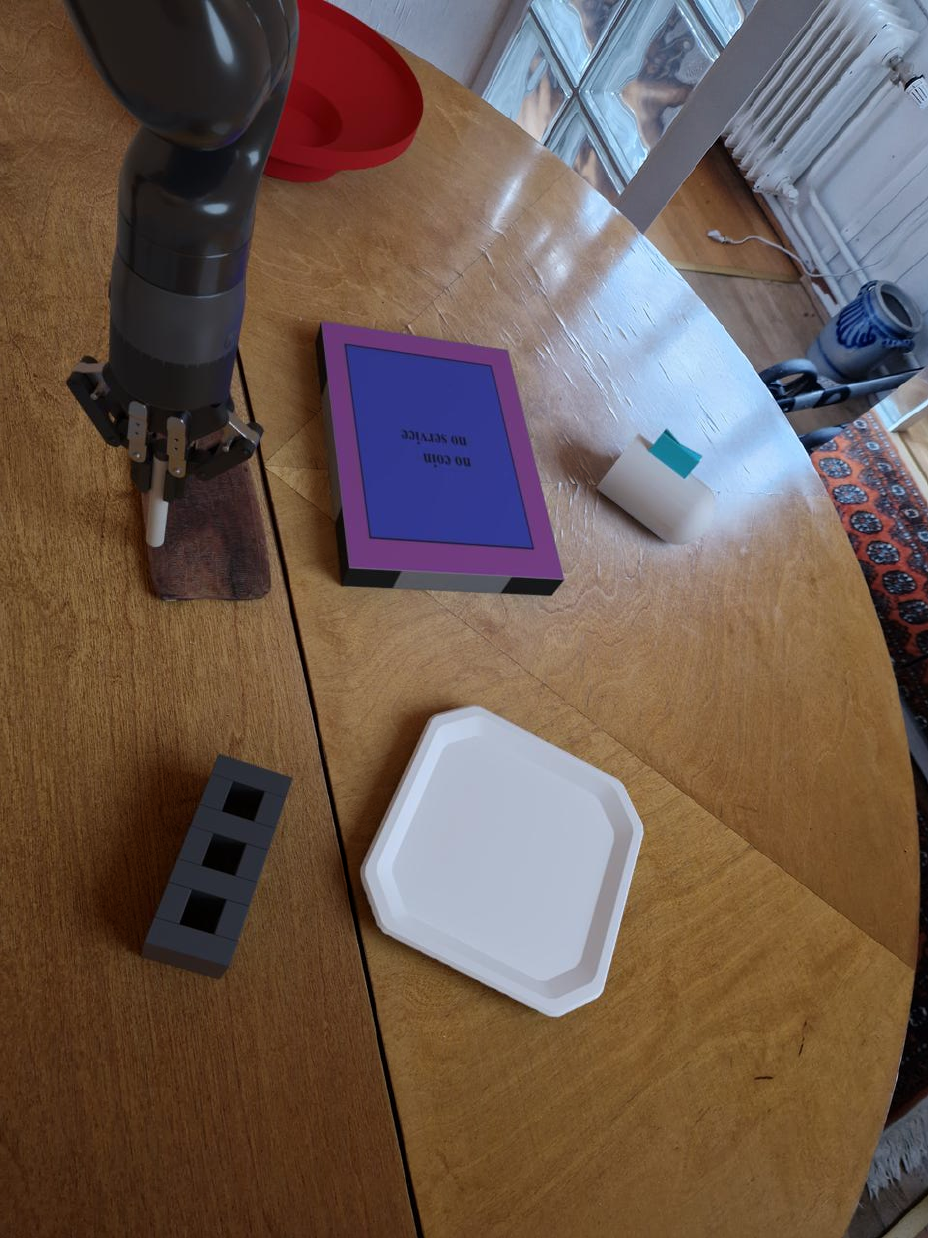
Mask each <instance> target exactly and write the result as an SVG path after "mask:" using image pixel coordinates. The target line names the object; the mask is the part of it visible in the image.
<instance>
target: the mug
mask: <svg viewBox="0 0 928 1238" xmlns="http://www.w3.org/2000/svg"><path fill="white" fill-rule="evenodd" d="M702 458H703V455H702V454H700V453H699V452H696V451H695V450H692V449H691V448H689V447H687V446H686V445H684V444H682V443H681V442H680V441H679V440H678V438H676V437H675V435H674V434H673V433H672V432H671V431H670V430H669V428H668V427H666V428H665V429H664V431H663V432H662V433H661V435H659V437H658V438H657V439H656V441H655V442H654V443H652V441H649V440H648V439H647V438H646V437H645V436H643V435H642V434H641V433H637V434H636V436H634V438H633V439H632V441H631V442H630V443H629V444H628V446H627V447H626V448H625V449H624V450H623V452H622V453H621V454H620V455H619V457H618V458H617V460H615V462H614V463H613V464H612V466H611V467H610V468H609V470H608V471H607V473H606V474H605V475H604V476H603V478H602V479H601V480H600V482H599V483H598V484H597V486H596V490H598V491H599V492H600V493H601V494H603V495H604V496H606V497H607V498H608V499H610V500H611V501H612V502H613V503H615V504H616V505H617V506H619V507H620V508H621V509H622V510H623V511H625V512H626V513H627V514H629V515H630V516H632V517H633V518H634V519H635V520H637V521H638V522H639V523H641V524H642V525H643V526H644V527H646V528H647V529H648V530H650V531H651V532H652V533H654V534H655V535H656V536H657V537H658V538H660V539H661V540H662V541H664V542H666V543H668V544H671V545H676V546H679V545H686V544H690V543H693V542H695V541H696V540H698V539H699V538H701V537H702V536H703V535H705V534H706V533H707V531H708V530H709V529H710V527H711V526H712V524H713V522H714V521H715V518H716V515H717V499H716V496H715V493H714V491H713V490H712V489H711V487H710V486H709V485H707V484H706V483H705V482H703V481H702V480H701V479H699V478H698V477H696V476H695V475H694V474H693V473H692V472H693V470H694V469H695V468H696V467H697V466H698V464H700V460H701V459H702Z"/></svg>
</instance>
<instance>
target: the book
mask: <svg viewBox="0 0 928 1238" xmlns="http://www.w3.org/2000/svg"><path fill="white" fill-rule="evenodd" d="M314 344H315V353H316V362H317V372H318V380H319V390H320V401H321V408H322V409H321V410H322V417H323V419H322V420H323V428H324V438H325V446H326V455H327V464H328V474H329V483H330V484H329V485H330V492H331V493H330V494H331V499H332V500H331V501H332V510H333V511H332V512H333V520H334V521H333V522H334V530H335V539H336V548H337V557H338V567H339V575H340V577H339V578H340V585H341V587H351V588H374V589H392V590H393V589H396V590H417V591H435V592H437V591H439V592H458V593H459V592H462V593H478V594H479V593H481V594H503V595H526V596H542V597H543V596H544V597H545V596H547V597H552V596H553V594H554V593H555V592H556V591H557V590H558V588H559V587H560V586H561V585H562V584H563V582H564V581H565V577H564V573H563V569H562V564H561V560H560V556H559V552H558V547H557V543H556V540H555V536H554V535H555V534H554V531H553V528H552V527H553V526H552V523H551V520H550V519H551V518H550V515H549V511H548V507H547V503H546V499H545V495H544V491H543V486H542V482H541V478H540V475H539V470H538V467H537V463H536V459H535V453H534V450H533V446H532V442H531V438H530V434H529V429H528V426H527V421H526V417H525V413H524V408H523V406H522V402H521V397H520V393H519V389H518V385H517V381H516V377H515V373H514V368H513V366H512V365H513V364H512V361H511V357H510V352H509V350H508V349H503V348H498V347H497V348H496V347H491V346H486V345H479V344H478V345H477V344H472V343H465V342H459V341H453V340H448V339H441V338H440V339H439V338H434V337H428V336H421V335H416V334H408V333H402V332H395V331H389V330H382V329H378V328H377V329H376V328H370V327H365V326H357V325H353V324H352V325H351V324H345V323H338V322H332V321H325V320H320V324H319V327H318V331H317V335H316V338H315V342H314Z"/></svg>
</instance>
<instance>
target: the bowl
mask: <svg viewBox="0 0 928 1238" xmlns="http://www.w3.org/2000/svg"><path fill="white" fill-rule="evenodd" d="M296 1H297V6H298V14H299V40H298V49H297V56H296V61H295V66H294V70H293V75H292V79H291V83H290V87H289V90H288V94H287V98H286V101H285V105H284V108H283V112H282V115H281V118H280V121H279V125H278V128H277V131H276V135H275V138H274V141H273V144H272V147H271V151H270V154H269V156H268V159H267V162H266V165H265V168H264V171H263V174H264V175H267V176H270V177H272V178H275V179H280V180H285V181H288V182H289V181H290V182H293V183H312V182H313V183H314V182H315V183H316V182H321V181H324V180H327V179H329V178H331V177H333V176H334V175H336V174H338V172H339V171H359V170H366V169H371V168H376V167H380V166H383V165H385V164H388V163H391V162H392V161H394V160H395V159H397V158H399V157H400V156H402V155H403V154H404V153H405V152H406V151H407V150H408V149H409V148H410V146H411V144H413V143H412V142H413V141H414V139H415V136H416V134H417V131H418V129H419V127H420V123H421V121H422V119H423V114H424V107H425V106H424V96H423V92H422V89H421V86H420V83H419V81H418V78H417V77H416V75H415V73H414V71H413V70H412V69H411V67H410V66H409V64H408V62H407V61H406V60H405V59H404V57H403V56H402V55H401V54H400V53H399V52H398V50H396V48H394V46H392V45H391V43H390V42H388V41H387V40H386V39H385V38H384V37H383V36H382V35H380V34H379V33H378V31H376V30H374V29H373V28H372V27H371V26H369V25H368V24H366V23H364V22H363V21H362V20H360V19H359V18H357V17H355V16H354V15H353V14H351V13H349V12H348V11H346V10H344V9H343V8H340V7H338V6H337V5H336V4H333V3H331V2H329V1H327V0H296Z"/></svg>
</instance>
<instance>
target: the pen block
mask: <svg viewBox="0 0 928 1238" xmlns="http://www.w3.org/2000/svg"><path fill="white" fill-rule="evenodd" d="M292 783H293V777H291V776H288V775H285V774H282V773H279V772H277V771H273V770H270V769H267V768H264V767H262V766H258V765H255V764H252V763H249V762H246V761H243V760H240V759H237V758H234V757H231V756H228V755H224V754H222V753H218V754H217V757H216V760H215V762H214V765H213V767H212V769H211V773H210V775H209V778H208V780H207V783H206V786H205V787H204V790H203V793H202V795H201V797H200V800H199V803H198V805H197V807H196V810H195V812H194V814H193V818H192V820H191V823H190V825H189V828H188V831H187V833H186V836H185V838H184V840H183V843H182V846H181V848H180V851H179V853H178V856H177V858H176V861H175V863H174V866H173V868H172V871H171V873H170V876H169V877H168V881H167V883H166V886H165V888H164V890H163V893H162V896H161V899H160V901H159V904H158V905H157V908H156V912H155V913H154V916H153V919H152V921H151V924H150V927H149V928H148V932H147V934H146V936H145V939H144V942H143V946H142V950H141V955H140V958H143V959H145V960H146V959H147V960H150V961H154V962H157V963H160V964H164V965H168V966H171V967H174V968H178V969H181V970H186V971H188V972H191V973H196V974H199V975H202V976H205V977H209V978H213V979H216V980H222V978H223V977H224V975H225V974H226V972H227V971H228V970H229V968H230V966H231V964H232V961H233V959H234V955H235V952H236V950H237V947H238V944H239V940H240V937H241V934H242V931H243V928H244V925H245V923H246V920H247V916H248V914H249V912H250V911H249V910H250V907H251V904H252V901H253V898H254V895H255V892H256V890H257V887H258V883H259V882H260V881H259V880H260V878H261V875H262V872H263V870H264V866H265V862H266V860H267V858H268V857H267V856H268V853H269V850H270V849H271V846H272V845H271V844H272V842H273V839H274V836H275V833H276V831H277V830H276V829H277V827H278V824H279V821H280V818H281V815H282V812H283V811H284V810H283V809H284V807H285V804H286V801H287V797H288V795H289V791H290V789H291V785H292ZM225 805H228V806H231V807H234V808H238V809H240V810H243V811H246V812H249V813H253V815H252V819H251V820H250V819H247V818H244V817H242V816H238V815H234V814H231V813H228V812H224V811H223V809H224V806H225ZM206 854H207V855H212V856H214V857H217V858H220V859H223V860H227V861H230V862H232V863H236V864H235V866H234V869H233V872H232V874H230V873H227V872H223V871H220V870H218V869H213V868H210V867H207V866H204V865H203V862H204V859H205V857H206ZM186 908H189V909H193V910H197V911H200V912H203V913H205V914H209V915H213V916H216V920H215V924H214V925H213V929H212V931H211V933H210V932H207V931H205V930H201V929H196V928H194V927H190V926H186V925H183V924H180V923H181V920H182V918H183V915H184V912H185V910H186Z"/></svg>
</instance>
